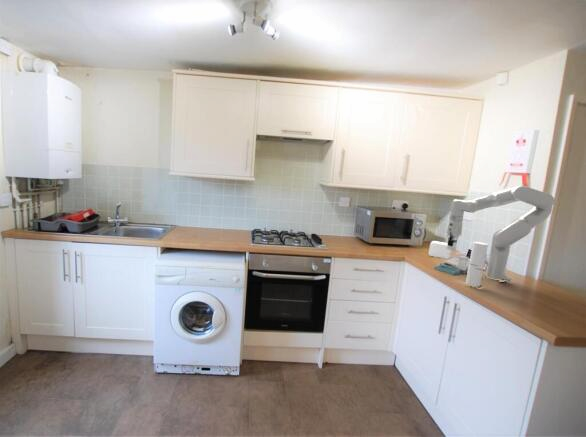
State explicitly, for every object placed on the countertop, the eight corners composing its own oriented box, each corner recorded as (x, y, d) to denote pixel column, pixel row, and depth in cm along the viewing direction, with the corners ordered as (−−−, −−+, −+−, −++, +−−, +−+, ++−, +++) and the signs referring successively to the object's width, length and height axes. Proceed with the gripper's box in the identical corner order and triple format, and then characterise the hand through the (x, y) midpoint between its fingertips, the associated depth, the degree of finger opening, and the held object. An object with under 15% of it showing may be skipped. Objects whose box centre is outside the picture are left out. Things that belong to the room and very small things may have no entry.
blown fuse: (455, 250, 200) (458, 235, 198) (452, 250, 197) (454, 235, 196) (449, 248, 203) (452, 234, 201) (446, 248, 200) (448, 234, 199)
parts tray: (459, 274, 191) (460, 270, 191) (452, 276, 186) (453, 271, 186) (441, 268, 201) (442, 264, 200) (434, 270, 196) (434, 265, 195)
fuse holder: (469, 274, 194) (470, 269, 194) (463, 275, 190) (464, 271, 189) (445, 266, 207) (445, 262, 207) (438, 267, 203) (439, 263, 202)
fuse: (465, 272, 194) (468, 257, 193) (462, 273, 192) (465, 257, 190) (459, 270, 197) (462, 255, 196) (456, 271, 195) (459, 256, 194)
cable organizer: (426, 256, 233) (429, 241, 231) (429, 254, 241) (431, 239, 240) (448, 260, 224) (450, 245, 223) (450, 258, 233) (452, 243, 231)
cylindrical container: (466, 282, 177) (474, 241, 173) (480, 285, 173) (488, 243, 169) (464, 285, 172) (472, 242, 168) (478, 288, 167) (487, 245, 163)
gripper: (455, 219, 189) (450, 248, 192) (468, 219, 199) (463, 246, 201) (443, 217, 195) (439, 245, 198) (456, 217, 205) (452, 243, 207)
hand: (451, 245), depth 200 cm, fingers closed on blown fuse, 3 cm apart
